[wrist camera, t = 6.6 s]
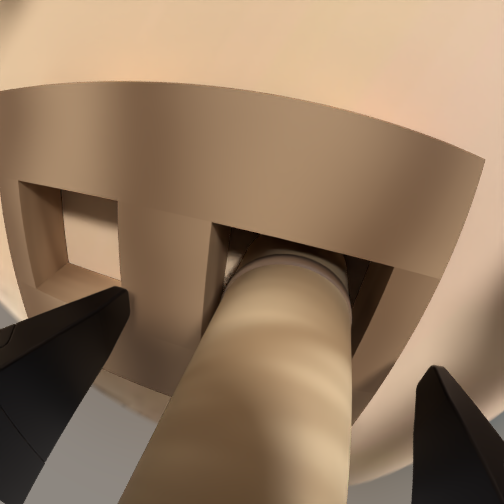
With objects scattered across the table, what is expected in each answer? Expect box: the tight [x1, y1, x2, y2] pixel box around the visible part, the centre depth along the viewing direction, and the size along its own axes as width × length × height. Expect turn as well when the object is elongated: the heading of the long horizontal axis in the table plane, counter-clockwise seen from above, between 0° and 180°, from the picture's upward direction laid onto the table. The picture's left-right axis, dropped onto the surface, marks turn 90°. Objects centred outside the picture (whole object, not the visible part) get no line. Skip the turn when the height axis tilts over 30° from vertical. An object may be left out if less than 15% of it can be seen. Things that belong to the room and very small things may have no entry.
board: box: [0, 81, 485, 426], centre depth 11 cm, size 16×12×2 cm
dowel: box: [118, 234, 352, 504], centre depth 7 cm, size 4×4×10 cm
